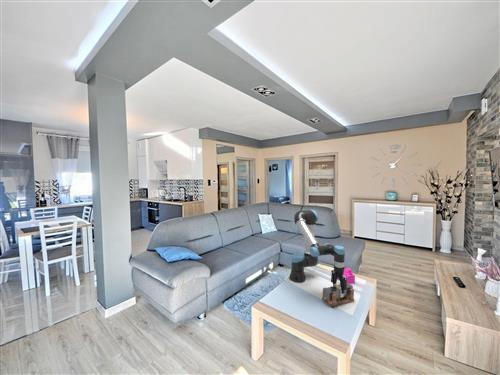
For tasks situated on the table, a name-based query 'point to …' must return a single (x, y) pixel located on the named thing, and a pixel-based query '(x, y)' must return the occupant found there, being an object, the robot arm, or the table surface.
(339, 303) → the stove stand
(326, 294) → the grey metal bar
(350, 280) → the bracket
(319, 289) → the table surface
